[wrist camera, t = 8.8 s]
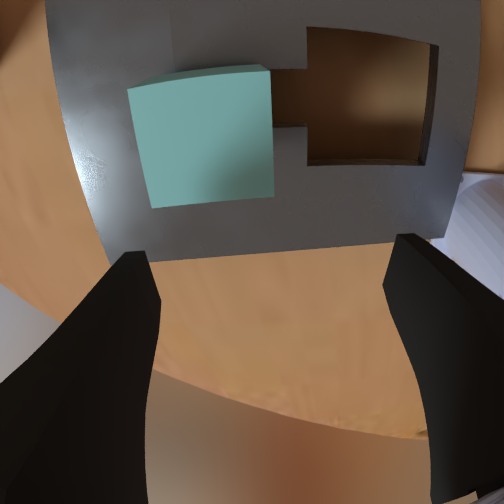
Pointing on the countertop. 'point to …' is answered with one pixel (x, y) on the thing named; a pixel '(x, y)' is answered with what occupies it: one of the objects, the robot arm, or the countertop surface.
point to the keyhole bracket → (284, 134)
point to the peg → (205, 135)
